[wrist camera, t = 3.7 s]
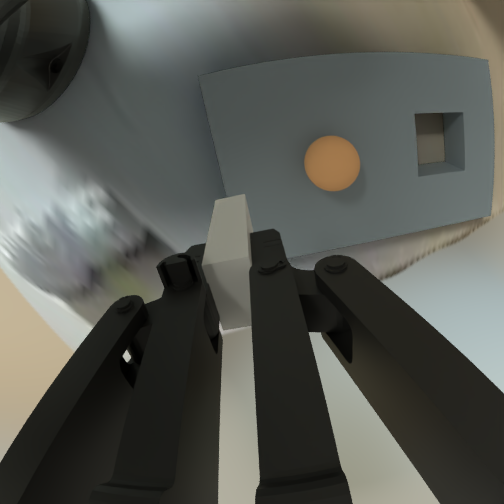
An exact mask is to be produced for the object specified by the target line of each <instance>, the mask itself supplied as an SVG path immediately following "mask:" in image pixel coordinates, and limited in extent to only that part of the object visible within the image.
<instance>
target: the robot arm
mask: <svg viewBox="0 0 504 504" xmlns="http://www.w3.org/2000/svg"><path fill="white" fill-rule="evenodd" d="M89 31H90V14H89V8H88V5H87V2H86V0H0V122H13V121H17V120H21V119H26V118H29V117H32V116H34V115H36V114H38V113H40V112H42V111H43V110H45V109H46V108H47V107H49V106H50V105H51V104H52V103H53V102H54V101H55V100H56V99H57V98H58V97H59V96H60V95H61V94H62V93H63V92H64V90H65V89H66V88H67V86H68V85H69V84H70V82H71V81H72V79H73V77H74V76H75V74H76V72H77V70H78V68H79V66H80V64H81V61H82V59H83V56H84V53H85V50H86V47H87V43H88V38H89ZM156 268H157V270H158V273H159V275H160V278H161V280H162V283H163V285H164V291H163V294H162V297H161V298H160V299H157V300H155V301H152V302H149V303H147V304H145V303H144V301H143V299H142V298H141V297H140V296H137V295H131V296H125V297H122V298H120V299H119V300H118V301H116V302H115V303H114V304H113V305H111V306H110V308H109V309H108V310H107V311H106V313H105V314H104V315H103V316H102V318H101V319H100V320H99V321H98V323H97V324H96V325H95V327H94V328H93V329H92V330H91V332H90V333H89V334H88V336H87V337H86V338H85V340H84V341H83V342H82V343H81V345H80V346H79V347H78V349H77V350H76V351H75V353H74V354H73V356H72V357H71V358H70V359H69V361H68V362H67V364H66V365H65V366H64V368H63V369H62V370H61V372H60V373H59V375H58V376H57V377H56V379H55V380H54V382H53V383H52V384H51V386H50V387H49V389H48V390H47V392H46V393H45V394H44V396H43V397H42V399H41V400H40V402H39V403H38V404H37V406H36V408H35V409H34V411H33V412H32V414H31V415H30V417H29V418H28V419H27V421H26V423H25V424H24V426H23V427H22V429H21V430H20V432H19V434H18V435H17V437H16V438H15V440H14V441H13V443H12V444H11V446H10V448H9V449H8V451H7V453H6V454H5V456H4V458H3V459H2V461H1V462H0V504H218V468H219V465H218V464H219V426H220V394H221V368H222V344H223V340H222V335H221V333H220V330H219V321H220V323H221V325H222V328H223V330H228V329H234V328H240V327H246V326H252V342H253V360H254V379H255V398H256V416H257V432H258V452H259V469H260V483H259V486H258V487H257V489H256V496H255V504H353V503H352V499H351V494H350V490H349V486H348V482H347V479H346V476H345V474H344V472H343V471H342V468H341V465H340V461H339V456H338V452H337V447H336V443H335V438H334V434H333V430H332V426H331V421H330V417H329V413H328V408H327V404H326V400H325V396H324V392H323V388H322V384H321V380H320V376H319V372H318V368H317V364H316V360H315V356H314V352H313V348H312V344H311V340H310V336H309V332H321V335H322V337H323V339H324V340H325V342H326V343H327V344H328V346H329V347H330V349H331V350H332V351H333V353H334V354H335V356H336V357H337V358H338V360H339V361H340V363H341V364H342V365H343V367H344V368H345V370H346V371H347V372H348V374H349V375H350V376H351V378H352V379H353V381H354V382H355V384H356V385H357V386H358V388H359V389H360V391H361V392H362V393H363V395H364V396H365V398H366V399H367V400H368V402H369V403H370V405H371V406H372V407H373V409H374V410H375V412H376V413H377V415H378V416H379V417H380V419H381V420H382V422H383V423H384V424H385V426H386V427H387V428H388V430H389V431H390V433H391V434H392V436H393V437H394V438H395V440H396V441H397V443H398V444H399V446H400V447H401V448H402V450H403V451H404V453H405V454H406V455H407V457H408V458H409V460H410V461H411V462H412V464H413V465H414V467H415V468H416V470H417V471H418V472H419V474H420V475H421V477H422V478H423V480H424V481H425V482H426V484H427V485H428V487H429V488H430V490H431V491H432V493H433V494H434V495H435V497H436V498H437V499H438V501H439V503H440V504H504V393H503V392H502V391H501V390H500V389H499V388H498V387H497V386H495V385H494V383H493V382H491V381H490V380H489V379H488V378H487V377H486V376H485V375H484V374H483V373H482V372H481V371H480V370H479V369H478V368H477V367H476V366H475V365H474V364H473V363H472V362H471V361H470V360H469V359H468V358H467V357H465V356H464V355H463V354H462V353H461V352H460V351H459V350H458V349H457V348H456V347H455V346H454V345H452V344H451V343H450V342H449V341H448V340H447V339H446V338H445V337H444V336H443V335H442V334H440V333H439V332H438V331H437V330H436V329H435V328H434V327H433V326H431V325H430V324H429V323H428V322H427V321H426V320H425V319H424V318H423V317H421V316H420V315H419V314H418V313H417V312H416V311H415V310H414V309H412V308H411V307H410V306H409V305H408V304H407V303H405V302H404V301H403V300H402V299H401V298H399V297H398V296H397V295H396V294H395V293H394V292H393V291H391V290H390V289H389V288H388V287H387V286H386V285H384V284H383V283H382V282H381V281H380V280H378V279H377V278H376V277H375V276H374V275H372V274H371V273H370V272H369V271H368V270H366V269H365V268H364V267H363V266H361V265H360V264H359V263H358V262H357V261H355V260H354V259H352V258H350V257H347V256H342V255H333V256H330V257H326V258H323V259H321V260H319V261H318V262H317V263H316V264H315V268H314V270H300V269H296V268H294V267H292V266H291V265H290V263H289V262H288V260H287V257H286V253H285V250H284V246H283V243H282V239H281V236H280V232H278V231H277V230H275V229H268V230H263V231H258V232H253V228H252V223H251V219H250V214H249V210H248V205H247V201H246V196H245V194H242V195H237V196H232V197H228V198H223V199H218V200H215V205H214V209H213V214H212V218H211V223H210V227H209V232H208V237H207V242H206V243H204V244H199V245H194V246H191V247H190V248H189V249H188V250H187V251H186V252H185V253H178V254H175V255H172V256H169V257H167V258H165V259H164V260H162V261H161V262H160V263H159V264H158V265H157V267H156ZM126 350H127V351H128V352H129V354H130V356H131V359H130V360H129V361H128V362H126V361H125V359H124V358H123V354H124V353H125V351H126Z"/></svg>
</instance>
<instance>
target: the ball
mask: <svg viewBox="0 0 504 504" xmlns="http://www.w3.org/2000/svg"><path fill="white" fill-rule="evenodd" d="M304 166H305V171H306V173H307V175H308V177H309V179H310V180H311V181H312V182H313V183H314V184H315V185H316V186H317V187H319V188H321V189H323V190H327V191H340V190H343V189H345V188H347V187H349V186H350V185H351V184H352V183H353V182H354V181H355V180H356V178H357V176H358V174H359V170H360V158H359V155H358V152H357V151H356V149H355V147H354V146H353V145H352V144H351V143H350V142H349V141H347V140H346V139H344V138H341V137H338V136H324V137H321V138H319V139H317V140H316V141H314V142H313V143H312V144H311V145H310V146H309V148H308V149H307V152H306V154H305V159H304Z"/></svg>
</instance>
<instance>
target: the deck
mask: <svg viewBox="0 0 504 504" xmlns="http://www.w3.org/2000/svg"><path fill="white" fill-rule="evenodd" d="M198 79H199V83H200V88H201V92H202V96H203V100H204V105H205V109H206V113H207V117H208V122H209V126H210V130H211V134H212V138H213V142H214V147H215V151H216V155H217V159H218V163H219V167H220V171H221V176H222V180H223V184H224V188H225V192H226V196H227V198H228V197H232V196H237V195H242V194H245V196H246V201H247V205H248V210H249V214H250V219H251V223H252V228H253V232H258V231H263V230H268V229H275V230H277V231H278V232H280V236H281V239H282V243H283V246H284V250H285V253H286V257H287V259H288V258H293V257H298V256H303V255H308V254H313V253H318V252H323V251H328V250H333V249H337V248H342V247H347V246H352V245H357V244H362V243H366V242H371V241H376V240H381V239H385V238H390V237H395V236H400V235H404V234H409V233H414V232H418V231H423V230H428V229H432V228H437V227H441V226H446V225H451V224H455V223H460V222H464V221H469V220H473V219H478V218H482V217H487V216H491V208H492V197H493V182H494V113H493V99H492V88H491V79H490V71H489V64H488V60H486V59H479V58H472V57H464V56H455V55H445V54H432V53H414V52H358V53H339V54H326V55H315V56H305V57H296V58H289V59H281V60H274V61H268V62H262V63H256V64H251V65H245V66H240V67H235V68H230V69H226V70H221V71H217V72H212V73H208V74H204V75H200V76H198ZM419 113H443V126H444V144H445V162H437V163H428V164H420V165H418V155H417V139H416V126H415V115H414V114H419ZM324 136H338V137H341V138H344V139H346V140H347V141H349V142H350V143H351V144H352V145H353V146H354V147H355V149H356V151H357V152H358V155H359V158H360V170H359V174H358V176H357V178H356V180H355V181H354V182H353V183H352V184H351V185H350V186H349V187H347V188H345V189H343V190H340V191H327V190H323V189H321V188H319V187H317V186H316V185H315V184H314V183H313V182H312V181H311V180H310V179H309V177H308V175H307V173H306V171H305V166H304V159H305V154H306V152H307V149H308V148H309V146H310V145H311V144H312V143H313V142H314V141H316V140H317V139H319V138H321V137H324Z"/></svg>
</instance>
